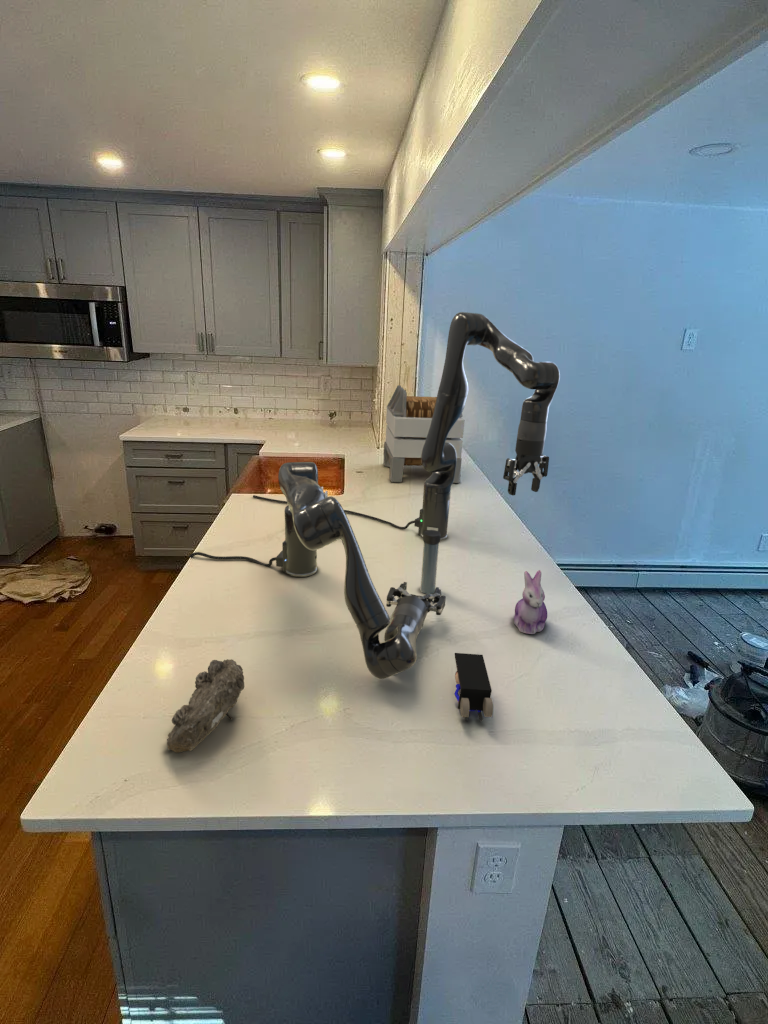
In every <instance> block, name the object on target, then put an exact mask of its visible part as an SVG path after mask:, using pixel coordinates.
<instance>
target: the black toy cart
mask: <svg viewBox="0 0 768 1024" xmlns="http://www.w3.org/2000/svg"><path fill="white" fill-rule="evenodd" d="M454 660H455V666H456V667H455V668H456V671H455V675H454V680H455V683H456V684H455V691H454V697H455V698H456V701H457V709H458V710H459V713H460V717H461V718H464V720H465V721H466V722H468V721H469V716H470V712H477V716H478V721H480V722H483V720H484V718H492V717H493V713H494V704H493V699H492V697H491V696H492V690H493V689H492V687H491V682H490V679H489V674H488V671H487V666H486V662H485V658H484V655H483V654H480V653H479V654H478V653H477V654H476V653H464V652H463V653H461V652H454ZM483 716H484V717H483Z"/></svg>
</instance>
